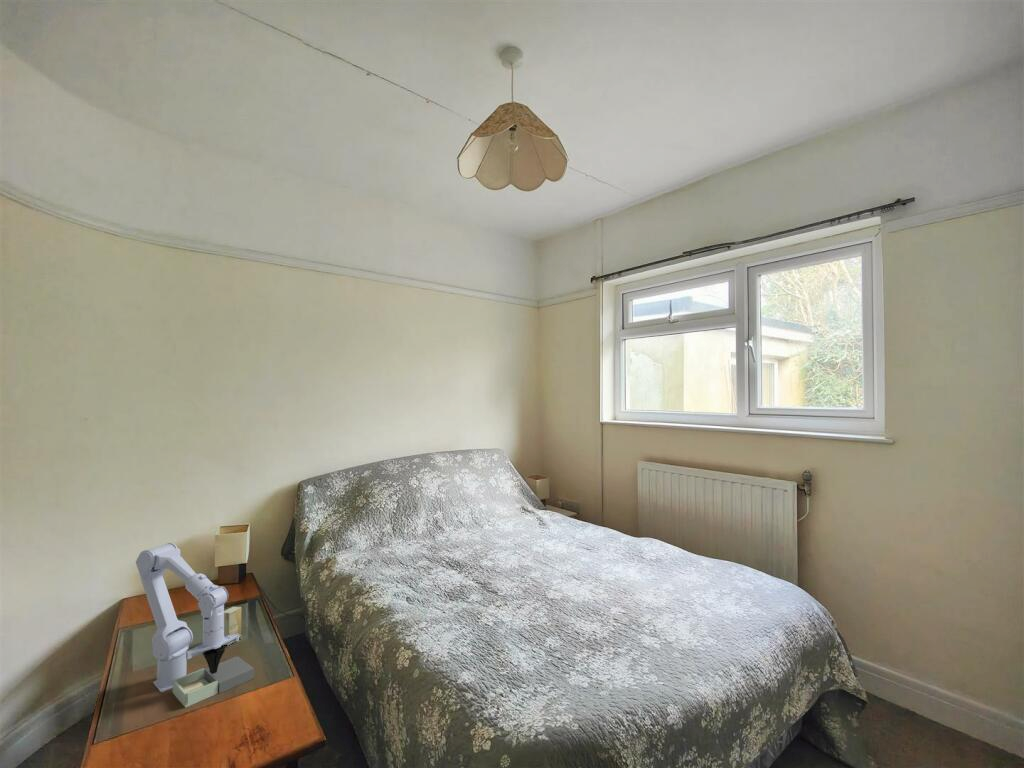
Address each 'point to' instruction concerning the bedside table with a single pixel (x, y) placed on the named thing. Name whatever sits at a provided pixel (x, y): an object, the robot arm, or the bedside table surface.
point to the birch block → (192, 686)
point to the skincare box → (232, 621)
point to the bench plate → (230, 674)
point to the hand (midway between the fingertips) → (213, 672)
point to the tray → (194, 695)
